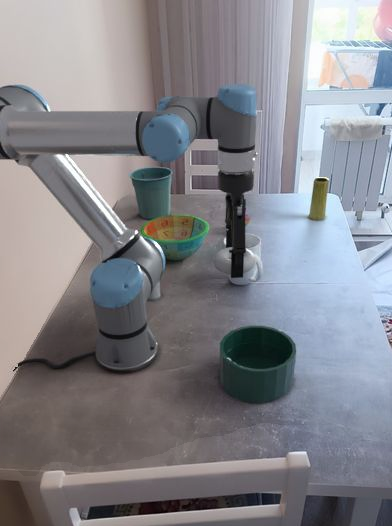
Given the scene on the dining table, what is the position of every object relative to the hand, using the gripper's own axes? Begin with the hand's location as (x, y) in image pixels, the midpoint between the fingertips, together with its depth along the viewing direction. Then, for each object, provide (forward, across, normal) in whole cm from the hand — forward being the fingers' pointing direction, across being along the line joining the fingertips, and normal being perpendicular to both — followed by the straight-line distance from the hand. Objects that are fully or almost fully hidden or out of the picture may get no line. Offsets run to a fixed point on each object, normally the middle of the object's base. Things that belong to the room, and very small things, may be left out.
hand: (234, 266), depth 114 cm
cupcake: (+20, +64, -9) cm, 67 cm away
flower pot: (+20, +85, +21) cm, 90 cm away
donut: (0, 0, 0) cm, 0 cm away
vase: (+20, +73, -41) cm, 86 cm away
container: (+20, +21, +21) cm, 36 cm away
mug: (+20, +27, -6) cm, 34 cm away
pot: (+20, -18, -3) cm, 27 cm away
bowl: (+20, +47, +14) cm, 53 cm away
